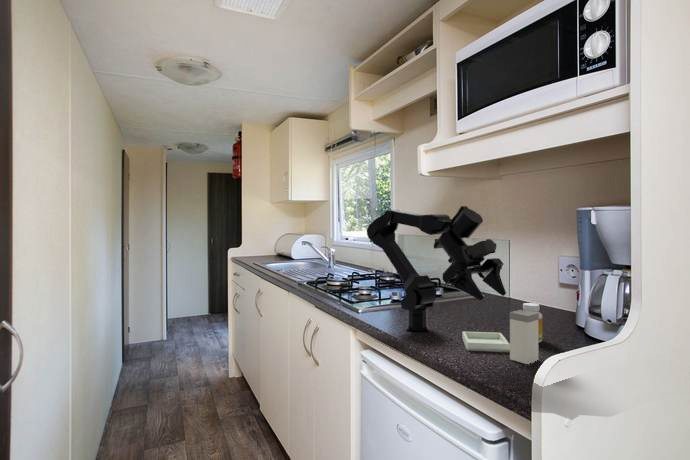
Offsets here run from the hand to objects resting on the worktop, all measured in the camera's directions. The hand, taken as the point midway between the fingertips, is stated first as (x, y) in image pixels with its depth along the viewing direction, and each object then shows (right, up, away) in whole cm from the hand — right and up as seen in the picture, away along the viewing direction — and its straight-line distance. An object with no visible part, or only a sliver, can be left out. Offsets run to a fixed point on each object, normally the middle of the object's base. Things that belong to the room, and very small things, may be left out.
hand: (493, 297), depth 99 cm
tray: (-1, -13, +5) cm, 14 cm away
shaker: (+5, -14, -6) cm, 16 cm away
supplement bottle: (+13, -13, +9) cm, 21 cm away
